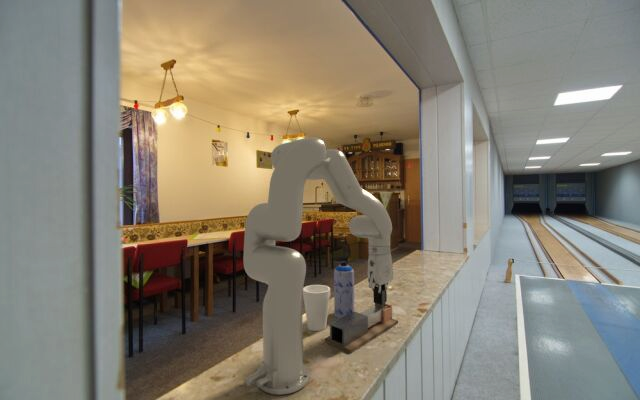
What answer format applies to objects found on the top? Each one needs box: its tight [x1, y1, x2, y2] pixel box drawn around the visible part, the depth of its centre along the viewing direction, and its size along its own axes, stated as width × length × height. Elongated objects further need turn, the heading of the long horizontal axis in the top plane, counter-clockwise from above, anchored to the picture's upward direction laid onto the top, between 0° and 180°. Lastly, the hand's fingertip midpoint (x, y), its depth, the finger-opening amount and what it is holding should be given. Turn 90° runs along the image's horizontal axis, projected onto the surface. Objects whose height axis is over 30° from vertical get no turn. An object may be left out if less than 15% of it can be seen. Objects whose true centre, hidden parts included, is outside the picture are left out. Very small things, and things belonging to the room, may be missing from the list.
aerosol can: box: [333, 260, 355, 319], centre depth 108 cm, size 8×8×20 cm
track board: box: [323, 318, 399, 354], centre depth 94 cm, size 27×10×1 cm, turn 136°
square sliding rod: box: [360, 289, 388, 328], centre depth 97 cm, size 16×4×10 cm, turn 136°
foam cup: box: [302, 284, 331, 332], centre depth 98 cm, size 10×9×13 cm
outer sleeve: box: [329, 311, 368, 347], centre depth 88 cm, size 12×5×5 cm, turn 136°
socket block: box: [370, 302, 393, 323], centre depth 102 cm, size 5×5×5 cm
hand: (380, 301), depth 101 cm, fingers closed on square sliding rod, 2 cm apart
